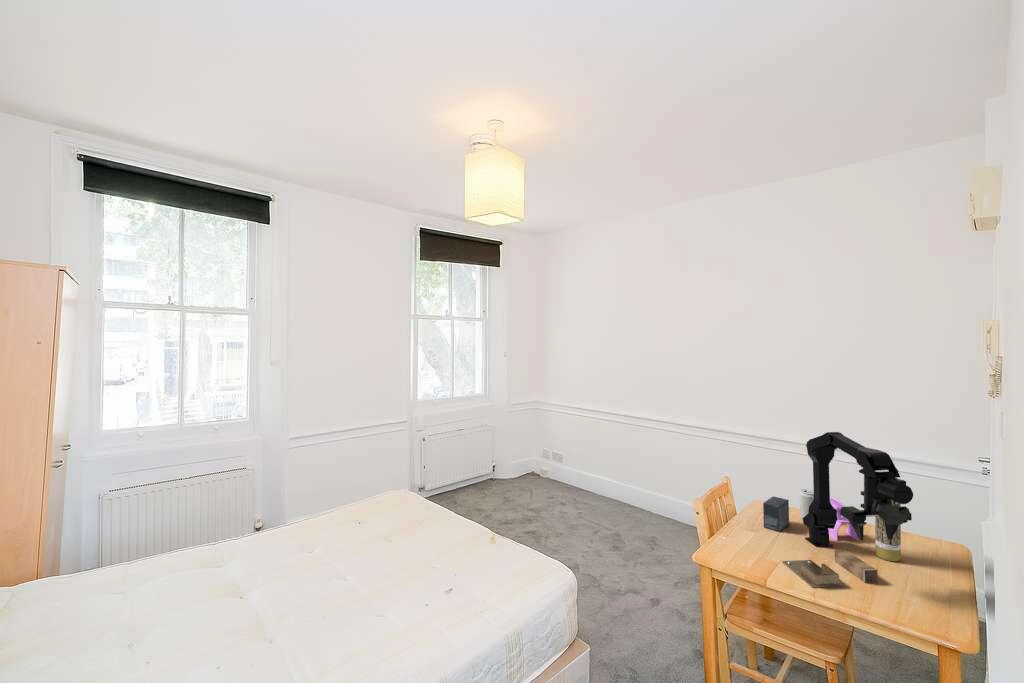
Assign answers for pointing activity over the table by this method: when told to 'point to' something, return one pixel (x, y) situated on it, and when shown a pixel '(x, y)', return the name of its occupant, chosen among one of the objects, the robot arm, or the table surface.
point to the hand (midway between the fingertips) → (875, 539)
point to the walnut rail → (856, 566)
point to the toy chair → (840, 522)
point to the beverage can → (805, 501)
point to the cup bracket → (814, 573)
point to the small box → (776, 513)
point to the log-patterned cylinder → (887, 540)
